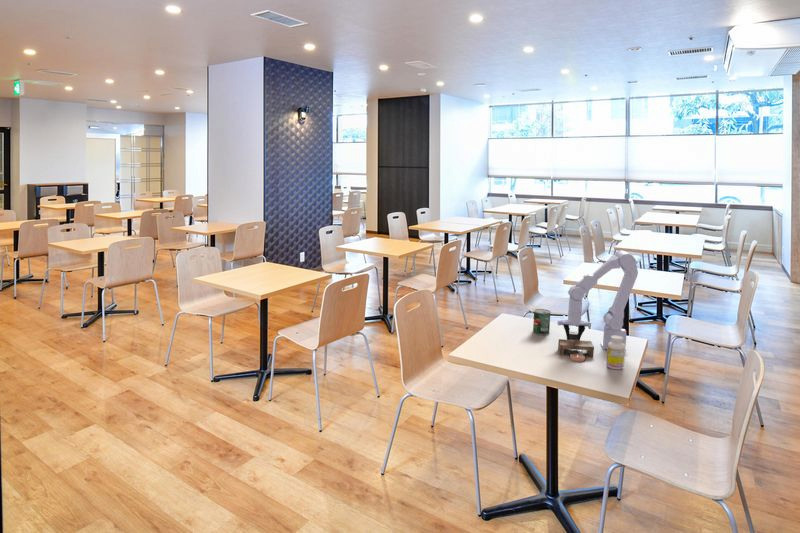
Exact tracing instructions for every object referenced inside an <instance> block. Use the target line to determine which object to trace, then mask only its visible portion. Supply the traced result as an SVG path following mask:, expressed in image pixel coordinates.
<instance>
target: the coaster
mask: <svg viewBox="0 0 800 533" xmlns="http://www.w3.org/2000/svg"><path fill="white" fill-rule="evenodd" d="M569 359H570V360H571V361H573V362H577V363H581V362H584V361H585V360H586V356H585V355H584V354H583V353H582V354H571V355H570V354H569Z"/></svg>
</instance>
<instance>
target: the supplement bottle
mask: <svg viewBox="0 0 800 533" xmlns="http://www.w3.org/2000/svg"><path fill="white" fill-rule="evenodd" d="M622 342H623V337H621V336H616V335H614V336H611V342H609V343H608V349H607V350H606V366H607V367H608V368H609V369H612V370H622V369H623V368H624V366H625V365H624V364H625V356H626V355H625V354H626V350H625V349H626V347H625V344H624V343H622Z"/></svg>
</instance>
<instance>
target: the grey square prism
mask: <svg viewBox="0 0 800 533" xmlns="http://www.w3.org/2000/svg"><path fill="white" fill-rule="evenodd" d="M569 340H578V331H571V330H569ZM567 350H568V353H569V356H570V355H571V354H582V355H583V353H582V350H576V349H567Z"/></svg>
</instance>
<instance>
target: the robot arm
mask: <svg viewBox="0 0 800 533" xmlns="http://www.w3.org/2000/svg"><path fill="white" fill-rule="evenodd" d="M637 262H638V261H637V260H636V258H635V256H634V255H633V254H631V253H628V252H627V251H625V250H621V249H620V250H617V251H616V252H615V253H614V254H612V255H611V256H610V257H609V258H608V259H607V260H606V261H605V262H604V263H603V264H602V265H601V266H599V267H598V268H597V270H595V271H594V272H593V273H592V274H590V273H589V274H588V273H587V274H586V275H584V276H582V277H583V278H582V279H581V280H580V281H579V282H575V283H574V285H572V286H570V287H569V289H568V290H567V294H568V295H569V299H568V300H569V301H568V311H567V312H568V313H567V314H568V315H567V319H558V320H557V322H556V323H557V326H563V329H564V331H565V335H566V340H569V331H571V330H570V329H571V328H570V326H571V327H572V326H574V327H577V332H578V340H581V337H582V335H583V333H584V332H585V330H586V327H588V328H591V327H592V322H591V321H586V320H582V315H583V314H582V311H583V299H585V296H586V294H587V293H588V292H589V291H590V290H592V289H593V288H594V287H595V286H597V285H598V280H599V279H601V278H602V277H604V275H606V274H607V273H608V272H611V270H614V269H621V270H622V272H623V273H624V274H623V276H622V279H621V282H620V284H619V287H618V290H617V292H616V295H615V297H614V300H613V302H612V305H610V307H609V308H608V310H607V312H606V313H605V314H604V315H603V322H604V323H605V324H604V327H603V338H602V342H600V345H601V347H602V349H603V350H608V343H609V342H611V336H614V335H616V336H621V337H623V342H622V343H624V344H625V351H627V350H626V348H627V347H626V346H627V345H626V344H627V330H626V329H625V328H623V326H624V318H625V308H626V306H627V303H628V300H629V298H630V296H631V293H632V290H633V288H634V286H635V283H636V280H637V278H638V275H639V271H638V265H637Z"/></svg>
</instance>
